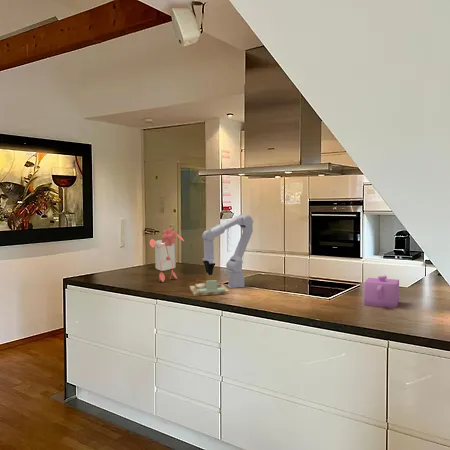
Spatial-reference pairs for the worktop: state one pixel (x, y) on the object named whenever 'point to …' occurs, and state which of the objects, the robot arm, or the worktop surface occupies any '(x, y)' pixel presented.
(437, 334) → the worktop surface
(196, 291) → the board
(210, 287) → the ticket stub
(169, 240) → the figurine
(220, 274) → the worktop surface
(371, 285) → the teapot
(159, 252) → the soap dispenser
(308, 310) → the worktop surface
